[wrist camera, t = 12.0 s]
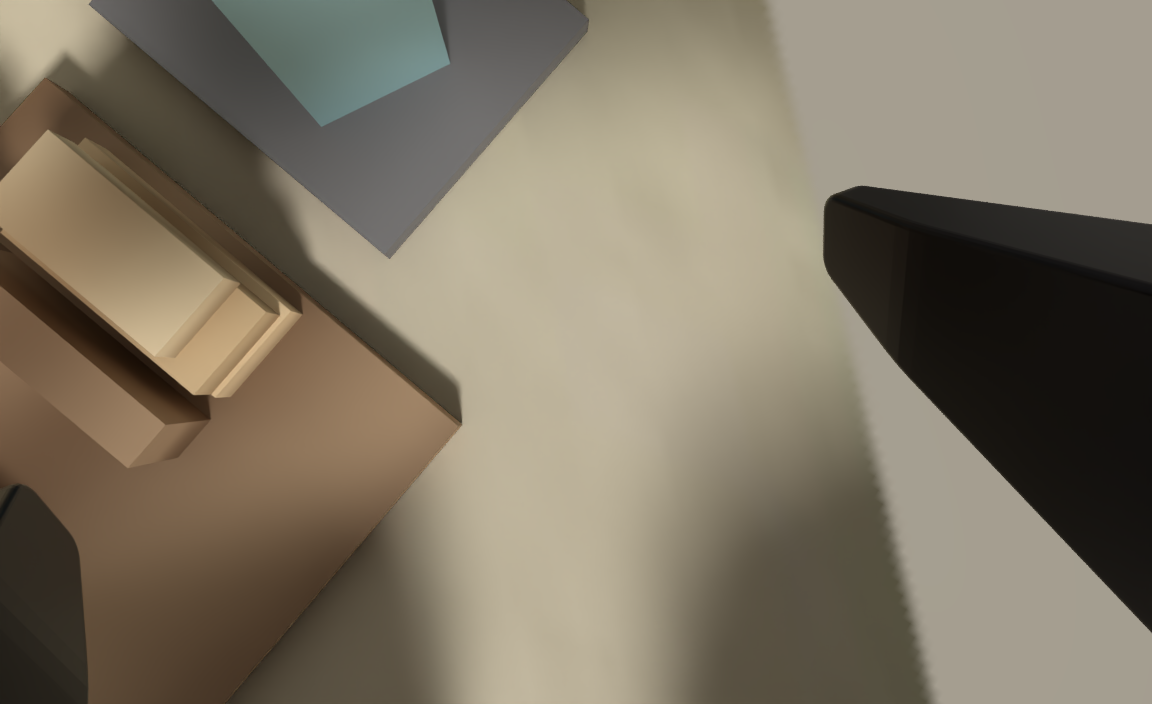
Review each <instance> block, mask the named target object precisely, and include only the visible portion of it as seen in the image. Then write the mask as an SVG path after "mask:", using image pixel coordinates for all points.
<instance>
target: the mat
mask: <svg viewBox="0 0 1152 704" xmlns="http://www.w3.org/2000/svg"><path fill="white" fill-rule="evenodd" d="M432 2H433V5H434V9H435V12H436V16H437V19H438V23H439V26H440V30H441V33H442V37H443V40H444V43H445V47H446V50H447V54H448V57H449V61H450V64H448V65H446V66H444V67H442V68H440V69H438V70H436V71H434V72H432V73H430V74H428V75H426V76H424V77H422V78H420V79H418V80H416V81H414V82H412V83H410V84H408V85H406V86H404V87H402V88H400V89H398V90H396V91H394V92H391V93H389V94H387V95H385V96H383V97H381V98H379V99H377V100H375V101H373V102H371V103H369V104H367V105H365V106H363V107H361V108H359V109H357V110H355V111H353V112H351V113H349V114H347V115H345V116H343V117H341V118H339V119H337V120H335V121H333V122H330V123H328V124H326V125H324V126H322V127H321V126H320V125H319V124H318V123H317V121H316V120H315V119H314V118H313V117H312V116H311V114H310V113H309V112H308V111H307V110H306V109H305V108H304V106H303V105H302V104H301V103H300V102H299V101H298V99H297V98H296V97H295V96H294V95H293V94H292V93H291V91H290V90H289V89H288V88H287V87H286V86H285V84H284V83H283V82H282V81H281V80H280V79H279V77H278V76H277V75H276V74H275V73H274V72H273V71H272V69H271V68H270V67H269V66H268V65H267V64H266V62H265V61H264V60H263V59H262V58H261V57H260V56H259V54H258V53H257V52H256V51H255V50H254V49H253V47H252V46H251V45H250V44H249V43H248V42H247V41H246V39H245V38H244V37H243V36H242V35H241V34H240V32H239V31H238V30H237V29H236V28H235V27H234V26H233V24H232V23H231V22H230V21H229V20H228V19H227V17H226V16H225V15H224V14H223V13H222V12H221V11H220V9H219V8H218V7H217V6H216V5H215V4H214V2H213V1H212V0H92V1H91V2H90V3H89V5H90V6H91V7H92V8H93V9H94V10H96V11H97V12H98V13H99V14H100V15H102V16H103V17H104V18H105V19H106V20H107V21H109V22H110V23H111V24H112V25H113V26H115V27H116V28H117V29H118V30H119V31H120V32H122V33H123V34H124V35H125V36H126V37H128V38H129V39H130V40H131V41H132V42H133V43H135V44H136V45H137V46H138V47H139V48H141V49H142V50H143V51H144V52H145V53H146V54H148V55H149V56H150V57H151V58H152V59H154V60H155V61H156V62H157V63H158V64H159V65H161V66H162V67H163V68H164V69H165V70H167V71H168V72H169V73H170V74H171V75H172V76H174V77H175V78H176V79H177V80H178V81H180V82H181V83H182V84H183V85H184V86H185V87H187V88H188V89H189V90H190V91H191V92H193V93H194V94H195V95H196V96H197V97H198V98H200V99H201V100H202V101H203V102H204V103H206V104H207V105H208V106H209V107H210V108H212V109H213V110H214V111H215V112H216V113H217V114H219V115H220V116H221V117H222V118H223V119H225V120H226V121H227V122H228V123H229V124H230V125H232V126H233V127H234V128H235V129H236V130H238V131H239V132H240V133H241V134H242V135H243V136H245V137H246V138H247V139H248V140H249V141H251V142H252V143H253V144H254V145H255V146H256V147H258V148H259V149H260V150H261V151H262V152H264V153H265V154H266V155H267V156H268V157H269V158H271V159H272V160H273V161H274V162H275V163H277V164H278V165H279V166H280V167H281V168H282V169H284V170H285V171H286V172H287V173H288V174H290V175H291V176H292V177H293V178H294V179H295V180H297V181H298V182H299V183H300V184H301V185H303V186H304V187H305V188H306V189H307V190H308V191H310V192H311V193H312V194H313V195H314V196H316V197H317V198H318V199H319V200H320V201H321V202H323V203H324V204H325V205H326V206H327V207H329V208H330V209H331V210H332V211H333V212H334V213H336V214H337V215H338V216H339V217H340V218H342V219H343V220H344V221H345V222H346V223H347V224H349V225H350V226H351V227H352V228H353V229H355V230H356V231H357V232H358V233H359V234H360V235H362V236H363V237H364V238H365V239H366V240H368V241H369V242H370V243H371V244H372V245H373V246H375V247H376V248H377V249H378V250H379V251H381V252H382V253H383V254H384V255H385V256H387V257H388V258H389V259H390V258H391V257H392V255H393V254H394V253H395V252H396V251H397V250H398V249H399V247H400V246H401V245H402V244H403V243H404V242H405V240H406V239H407V238H408V237H409V236H410V235H411V234H412V232H413V231H414V230H415V229H416V228H417V227H418V226H419V224H420V223H421V222H422V221H423V220H424V219H425V217H426V216H427V215H428V214H429V213H430V212H431V211H432V209H433V208H434V207H435V206H436V205H437V204H438V203H439V201H440V200H441V199H442V198H443V197H444V196H445V194H446V193H447V192H448V191H449V190H450V189H451V188H452V186H453V185H454V184H455V183H456V182H457V181H458V179H459V178H460V177H461V176H462V175H463V174H464V173H465V171H466V170H467V169H468V168H469V167H470V166H471V165H472V163H473V162H474V161H475V160H476V159H477V158H478V156H479V155H480V154H481V153H482V152H483V151H484V150H485V148H486V147H487V146H488V145H489V144H490V143H491V142H492V140H493V139H494V138H495V137H496V136H497V135H498V133H499V132H500V131H501V130H502V129H503V128H504V127H505V125H506V124H507V123H508V122H509V121H510V120H511V119H512V117H513V116H514V115H515V114H516V113H517V112H518V110H519V109H520V108H521V107H522V106H523V105H524V104H525V102H526V101H527V100H528V99H529V98H530V97H531V96H532V94H533V93H534V92H535V91H536V90H537V89H538V87H539V86H540V85H541V84H542V83H543V82H544V81H545V79H546V78H547V77H548V76H549V75H550V74H551V72H552V71H553V70H554V69H555V68H556V67H557V66H558V64H559V63H560V62H561V61H562V60H563V59H564V58H565V56H566V55H567V54H568V53H569V52H570V51H571V49H572V48H573V47H574V46H575V45H576V44H577V43H578V41H579V40H580V39H581V38H582V37H583V36H584V35H585V33H586V32H587V29H588V21H589V19H588V18H587V17H585V16H584V15H583V14H582V13H581V12H580V11H578V10H577V9H576V8H575V7H574V6H572V5H571V4H570V3H569V2H568V1H567V0H432Z"/></svg>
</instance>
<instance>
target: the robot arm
mask: <svg viewBox="0 0 1152 704" xmlns="http://www.w3.org/2000/svg"><path fill="white" fill-rule="evenodd" d="M823 258H824V264H825V267H826V270H827V272H828V274H829V276H830V277H831V279H832V280H833V282H834V283H835V284H836V285H837V287H838V288H839V289H840V291H841V292H842V293H843V295H844V296H845V297H846V299H847V300H848V301H849V303H850V304H851V305H852V307H853V308H854V309H855V311H856V312H857V313H858V314H859V316H860V317H861V318H862V320H863V321H864V323H865V324H866V325H867V326H868V328H869V329H870V330H871V332H872V333H873V334H874V336H875V337H876V338H877V340H878V341H879V342H880V344H881V345H882V346H883V348H884V349H885V350H886V352H887V353H888V354H889V355H890V356H891V358H892V359H893V360H894V361H895V363H897V365H898V366H899V367H900V368H901V369H902V371H903V372H904V373H905V374H906V375H907V376H908V377H909V378H910V379H911V380H912V382H913V383H914V384H915V385H916V386H917V387H918V388H919V389H920V390H921V391H922V392H923V393H924V394H925V395H926V396H927V397H928V398H929V399H930V400H931V401H932V403H933V404H934V405H935V406H936V407H937V408H938V409H939V410H940V411H941V412H942V413H943V414H944V415H945V416H946V417H947V418H948V419H949V420H950V421H951V423H952V424H953V425H954V426H955V427H956V428H957V429H958V430H959V431H960V432H961V433H962V434H963V435H964V436H965V437H966V438H967V439H968V440H969V441H970V442H971V443H972V445H974V447H975V448H976V449H977V450H978V451H979V452H980V453H981V454H982V455H983V456H984V457H985V458H986V459H987V460H988V461H989V462H990V463H991V464H992V466H993V467H994V468H995V469H996V470H997V471H998V472H999V473H1000V474H1001V475H1002V476H1003V477H1004V478H1005V479H1006V480H1007V481H1008V482H1009V483H1010V484H1011V485H1012V487H1013V488H1014V489H1015V490H1016V491H1017V492H1018V493H1019V494H1020V495H1021V496H1022V497H1023V498H1024V499H1025V500H1026V501H1027V502H1028V503H1029V504H1030V505H1031V506H1032V507H1033V509H1034V510H1035V511H1036V512H1038V514H1039V515H1040V516H1041V517H1042V518H1043V519H1044V520H1045V521H1046V522H1047V523H1048V524H1049V525H1050V526H1051V527H1052V529H1054V531H1055V532H1056V533H1057V534H1058V535H1059V536H1060V537H1061V538H1062V539H1063V540H1064V541H1065V542H1066V543H1067V544H1068V545H1069V546H1070V547H1071V548H1072V550H1073V551H1074V552H1075V553H1077V555H1078V556H1079V557H1080V558H1081V559H1082V560H1083V561H1084V562H1085V563H1086V564H1087V565H1088V566H1089V567H1090V568H1091V569H1092V571H1093V572H1095V574H1096V575H1097V576H1098V577H1099V578H1100V579H1101V580H1102V581H1103V582H1104V583H1105V584H1106V585H1107V586H1108V587H1109V588H1110V589H1111V590H1112V591H1113V593H1114V594H1116V596H1117V597H1118V598H1119V599H1120V600H1121V601H1122V602H1123V603H1124V604H1125V605H1126V606H1127V607H1128V608H1129V609H1130V610H1131V611H1132V612H1133V614H1134V615H1135V616H1136V617H1137V618H1138V619H1139V620H1140V621H1141V622H1142V623H1143V624H1144V625H1145V626H1146V627H1147V628H1148V629H1149V630H1150V631H1151V632H1152V224H1144V223H1137V222H1129V221H1122V220H1114V219H1107V218H1099V217H1093V216H1084V215H1078V214H1070V213H1063V212H1054V211H1048V210H1040V209H1032V208H1025V207H1018V206H1010V205H1002V204H995V203H988V202H981V201H973V200H966V199H958V198H951V197H943V196H936V195H928V194H921V193H913V192H906V191H898V190H891V189H884V188H876V187H869V186H857V187H853V188H850V189H847V190H845V191H842V192H839V193H836V194H834V195H832V196H830V197H829V198H828V199H827V201H826V203H825V206H824V235H823ZM88 690H89V687H88V663H87V649H86V636H85V622H84V608H83V594H82V581H81V567H80V556H79V551H78V547H77V545H76V542H75V540H74V538H73V536H72V535H71V533H70V532H69V531H68V530H67V529H66V527H65V526H64V525H63V524H62V523H61V521H60V520H59V519H58V518H57V517H56V516H55V514H54V513H53V512H52V511H51V510H50V508H49V507H48V506H47V505H46V504H45V503H44V501H43V500H42V499H41V498H40V497H39V496H38V494H37V493H36V492H35V491H34V490H33V489H32V488H30V487H29V486H27V485H24V484H19V483H16V484H12V485H9V486H6V487H3V488H0V704H88Z"/></svg>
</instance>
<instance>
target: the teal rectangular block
mask: <svg viewBox="0 0 1152 704" xmlns="http://www.w3.org/2000/svg"><path fill="white" fill-rule="evenodd" d="M212 1H213V2H214V4H215V5H216V6H217V7H218V8H219V9H220V11H221V12H222V13H223V14H224V15H225V16H226V17H227V19H228V20H229V21H230V22H231V23H232V24H233V26H234V27H235V28H236V29H237V30H238V31H239V32H240V34H241V35H242V36H243V37H244V38H245V39H246V41H247V42H248V43H249V44H250V45H251V46H252V47H253V49H254V50H255V51H256V52H257V53H258V54H259V56H260V57H261V58H262V59H263V60H264V61H265V62H266V64H267V65H268V66H269V67H270V68H271V69H272V71H273V72H274V73H275V74H276V75H277V76H278V77H279V79H280V80H281V81H282V82H283V83H284V84H285V86H286V87H287V88H288V89H289V90H290V91H291V93H292V94H293V95H294V96H295V97H296V98H297V99H298V101H299V102H300V103H301V104H302V105H303V106H304V108H305V109H306V110H307V111H308V112H309V113H310V114H311V116H312V117H313V118H314V119H315V120H316V121H317V123H318V124H319V125H320V126H321V127H322V126H324V125H326V124H328V123H330V122H333V121H335V120H337V119H339V118H341V117H343V116H345V115H347V114H349V113H351V112H353V111H355V110H357V109H359V108H361V107H363V106H365V105H367V104H369V103H371V102H373V101H375V100H377V99H379V98H381V97H383V96H385V95H387V94H389V93H391V92H394V91H396V90H398V89H400V88H402V87H404V86H406V85H408V84H410V83H412V82H414V81H416V80H418V79H420V78H422V77H424V76H426V75H428V74H430V73H432V72H434V71H436V70H438V69H440V68H442V67H444V66H446V65H448V64H450V61H449V57H448V54H447V50H446V47H445V43H444V40H443V37H442V33H441V30H440V26H439V23H438V19H437V16H436V12H435V9H434V5H433V2H432V0H212Z"/></svg>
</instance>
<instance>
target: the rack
mask: <svg viewBox="0 0 1152 704" xmlns="http://www.w3.org/2000/svg"><path fill="white" fill-rule="evenodd" d="M461 426H462V424H461V423H460V422H459V421H458V420H456V419H455V418H454V417H453V416H452V415H450V414H449V413H448V412H447V411H446V410H445V409H443V408H442V407H441V406H440V405H439V404H437V403H436V402H435V401H434V400H433V399H432V398H430V397H429V396H428V395H427V394H426V393H424V392H423V391H422V390H421V389H420V388H418V387H417V386H416V385H415V384H414V383H413V382H411V381H410V380H409V379H408V378H407V377H405V376H404V375H403V374H402V373H401V372H400V371H398V370H397V369H396V368H395V367H394V366H392V365H391V364H390V363H389V362H388V361H386V360H385V359H384V358H383V357H382V356H381V355H379V354H378V353H377V352H376V351H375V350H373V349H372V348H371V347H370V346H369V345H368V344H366V343H365V342H364V341H363V340H362V339H360V338H359V337H358V336H357V335H356V334H355V333H353V332H352V331H351V330H350V329H349V328H347V327H346V326H345V325H344V324H343V323H341V322H340V321H339V320H338V319H337V318H336V317H334V316H333V315H332V314H331V313H330V312H328V311H327V310H326V309H325V308H324V307H323V306H321V305H320V304H319V303H318V302H317V301H315V300H314V299H313V298H312V297H311V296H310V295H308V294H307V293H306V292H305V291H304V290H302V289H301V288H300V287H299V286H298V285H296V284H295V283H294V282H293V281H292V280H291V279H289V278H288V277H287V276H286V275H285V274H283V273H282V272H281V271H280V270H279V269H278V268H276V267H275V266H274V265H273V264H272V263H270V262H269V261H268V260H267V259H266V258H265V257H263V256H262V255H261V254H260V253H259V252H257V251H256V250H255V249H254V248H253V247H251V246H250V245H249V244H248V243H247V242H246V241H244V240H243V239H242V238H241V237H240V236H238V235H237V234H236V233H235V232H234V231H233V230H231V229H230V228H229V227H228V226H227V225H225V224H224V223H223V222H222V221H221V220H220V219H218V218H217V217H216V216H215V215H214V214H212V213H211V212H210V211H209V210H208V209H206V208H205V207H204V206H203V205H202V204H201V203H199V202H198V201H197V200H196V199H195V198H193V197H192V196H191V195H190V194H189V193H188V192H186V191H185V190H184V189H183V188H182V187H180V186H179V185H178V184H177V183H176V182H175V181H173V180H172V179H171V178H170V177H169V176H167V175H166V174H165V173H164V172H163V171H161V170H160V169H159V168H158V167H157V166H156V165H154V164H153V163H152V162H151V161H150V160H148V159H147V158H146V157H145V156H144V155H143V154H141V153H140V152H139V151H138V150H137V149H135V148H134V147H133V146H132V145H131V144H130V143H128V142H127V141H126V140H125V139H124V138H122V137H121V136H120V135H119V134H118V133H116V132H115V131H114V130H113V129H112V128H111V127H109V126H108V125H107V124H106V123H105V122H103V121H102V120H101V119H100V118H99V117H98V116H96V115H95V114H94V113H93V112H92V111H90V110H89V109H88V108H87V107H86V106H85V105H83V104H82V103H81V102H80V101H79V100H77V99H76V98H75V97H74V96H73V95H71V94H70V93H69V92H68V91H66V90H65V89H63V88H61V87H60V86H58V85H57V84H55V83H53V82H52V81H50V80H48V79H47V78H44V79H43V81H42V82H41V83H40V84H39V85H38V86H37V87H36V88H35V89H34V90H33V92H32V93H31V94H30V95H29V96H28V97H27V98H26V99H25V100H24V101H23V102H22V104H21V105H20V106H19V107H18V108H17V109H16V110H15V111H14V112H13V113H12V114H11V116H10V117H9V118H8V119H7V120H6V121H5V122H4V123H3V124H2V125H1V127H0V488H3V487H6V486H9V485H12V484H16V483H19V484H24V485H27V486H29V487H30V488H32V489H33V490H34V491H35V492H36V493H37V494H38V496H39V497H40V498H41V499H42V500H43V501H44V503H45V504H46V505H47V506H48V507H49V508H50V510H51V511H52V512H53V513H54V514H55V516H56V517H57V518H58V519H59V520H60V521H61V523H62V524H63V525H64V526H65V527H66V529H67V530H68V531H69V532H70V533H71V535H72V536H73V538H74V540H75V542H76V545H77V547H78V551H79V556H80V567H81V581H82V594H83V608H84V622H85V636H86V649H87V663H88V687H89V690H88V704H225V703H226V702H227V701H228V700H229V698H230V697H231V696H232V695H233V694H234V692H235V691H236V690H237V689H238V688H239V687H240V685H241V684H242V683H243V682H244V681H245V680H246V678H247V677H248V676H249V675H250V674H251V672H252V671H253V670H254V669H255V668H256V667H257V665H258V664H259V663H260V662H261V661H262V660H263V658H264V657H265V656H266V655H267V654H268V652H269V651H270V650H271V649H272V648H273V647H274V645H275V644H276V643H277V642H278V641H279V640H280V638H281V637H282V636H283V635H284V634H285V632H286V631H287V630H288V629H289V628H290V627H291V625H292V624H293V623H294V622H295V621H296V620H297V618H298V617H299V616H300V615H301V614H302V613H303V611H304V610H305V609H306V608H307V607H308V605H309V604H310V603H311V602H312V601H313V600H314V598H315V597H316V596H317V595H318V594H319V593H320V591H321V590H322V589H323V588H324V587H325V585H326V584H327V583H328V582H329V581H330V580H331V578H332V577H333V576H334V575H335V574H336V573H337V571H338V570H339V569H340V568H341V567H342V565H343V564H344V563H345V562H346V561H347V560H348V558H349V557H350V556H351V555H352V554H353V553H354V551H355V550H356V549H357V548H358V547H359V545H360V544H361V543H362V542H363V541H364V540H365V538H366V537H367V536H368V535H369V534H370V533H371V531H372V530H373V529H374V528H375V527H376V525H377V524H378V523H379V522H380V521H381V520H382V518H383V517H384V516H385V515H386V514H387V513H388V511H389V510H390V509H391V508H392V507H393V505H394V504H395V503H396V502H397V501H398V500H399V498H400V497H401V496H402V495H403V494H404V493H405V491H406V490H407V489H408V488H409V487H410V486H411V484H412V483H413V482H414V481H415V480H416V478H417V477H418V476H419V475H420V474H421V473H422V471H423V470H424V469H425V468H426V467H427V466H428V464H429V463H430V462H431V461H432V460H433V458H434V457H435V456H436V455H437V454H438V453H439V451H440V450H441V449H442V448H443V447H444V446H445V444H446V443H447V442H448V441H449V440H450V438H451V437H452V436H453V435H454V434H455V433H456V431H457V430H458V429H459V428H460V427H461Z"/></svg>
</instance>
